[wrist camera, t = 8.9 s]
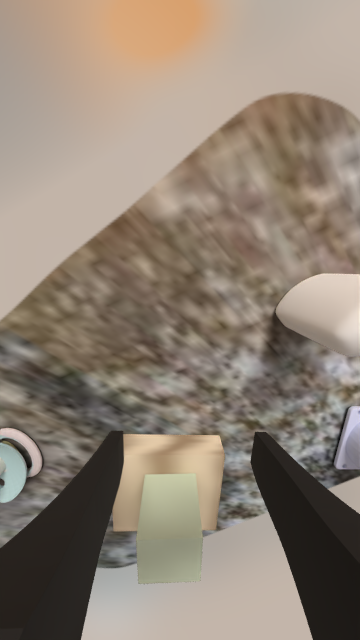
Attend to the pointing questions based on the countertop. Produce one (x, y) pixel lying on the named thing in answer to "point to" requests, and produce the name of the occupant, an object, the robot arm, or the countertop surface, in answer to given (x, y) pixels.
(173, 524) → the green cube
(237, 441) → the countertop surface
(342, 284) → the eye dropper bottle
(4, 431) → the pacifier
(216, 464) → the block
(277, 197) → the countertop surface
